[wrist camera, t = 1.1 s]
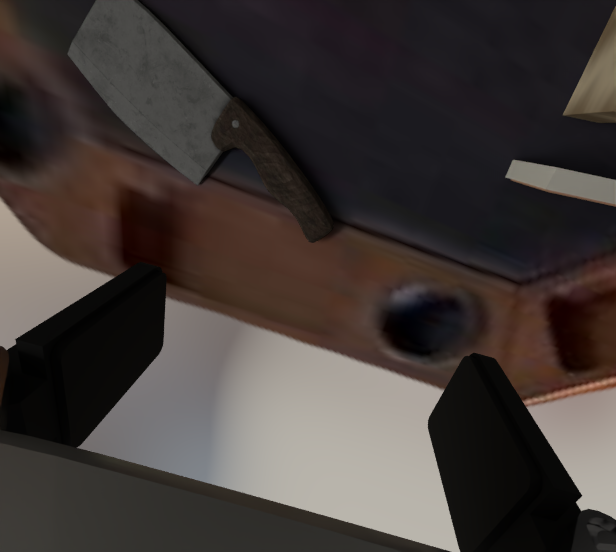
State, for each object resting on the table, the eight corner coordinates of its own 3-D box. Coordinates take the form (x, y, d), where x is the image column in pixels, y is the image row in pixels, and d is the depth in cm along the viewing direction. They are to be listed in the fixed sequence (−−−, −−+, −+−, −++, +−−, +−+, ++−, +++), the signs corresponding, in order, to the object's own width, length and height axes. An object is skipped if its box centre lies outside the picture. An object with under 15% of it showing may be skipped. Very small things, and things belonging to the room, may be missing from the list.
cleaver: (352, 206, 34) (352, 211, 32) (290, 268, 37) (287, 276, 35) (109, -31, 28) (90, -44, 26) (65, 69, 32) (46, 65, 30)
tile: (513, 159, 30) (556, 167, 23) (599, 178, 29) (667, 191, 23) (504, 178, 30) (544, 191, 24) (588, 196, 30) (651, 214, 24)
